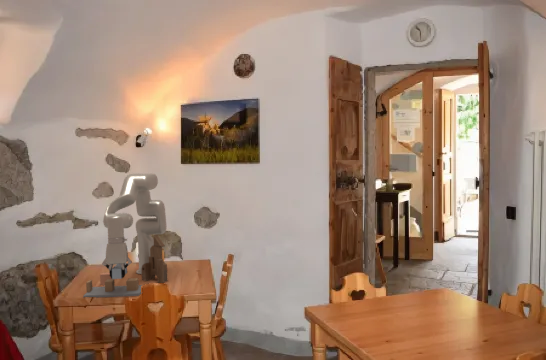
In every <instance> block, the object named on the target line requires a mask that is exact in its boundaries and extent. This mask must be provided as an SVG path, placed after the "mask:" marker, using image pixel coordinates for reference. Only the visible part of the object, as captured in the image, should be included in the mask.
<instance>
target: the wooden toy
mask: <svg viewBox="0 0 546 360" xmlns="http://www.w3.org/2000/svg"><path fill="white" fill-rule="evenodd" d="M153 239H154V245H153V246H152V247H151V248H150V257H149V263H145V264H143V266H142V274H141V281H143V282H144V281H145V282H147V281H151V280H155V278H156V277H157V284H159V283H162V284H164V283H165V282H169V281H168V265H167V263H166V262H165V261H164V258H163V247H165V243H164V242H163V241H162V239H161V237H160V236H159V234H153Z"/></svg>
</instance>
